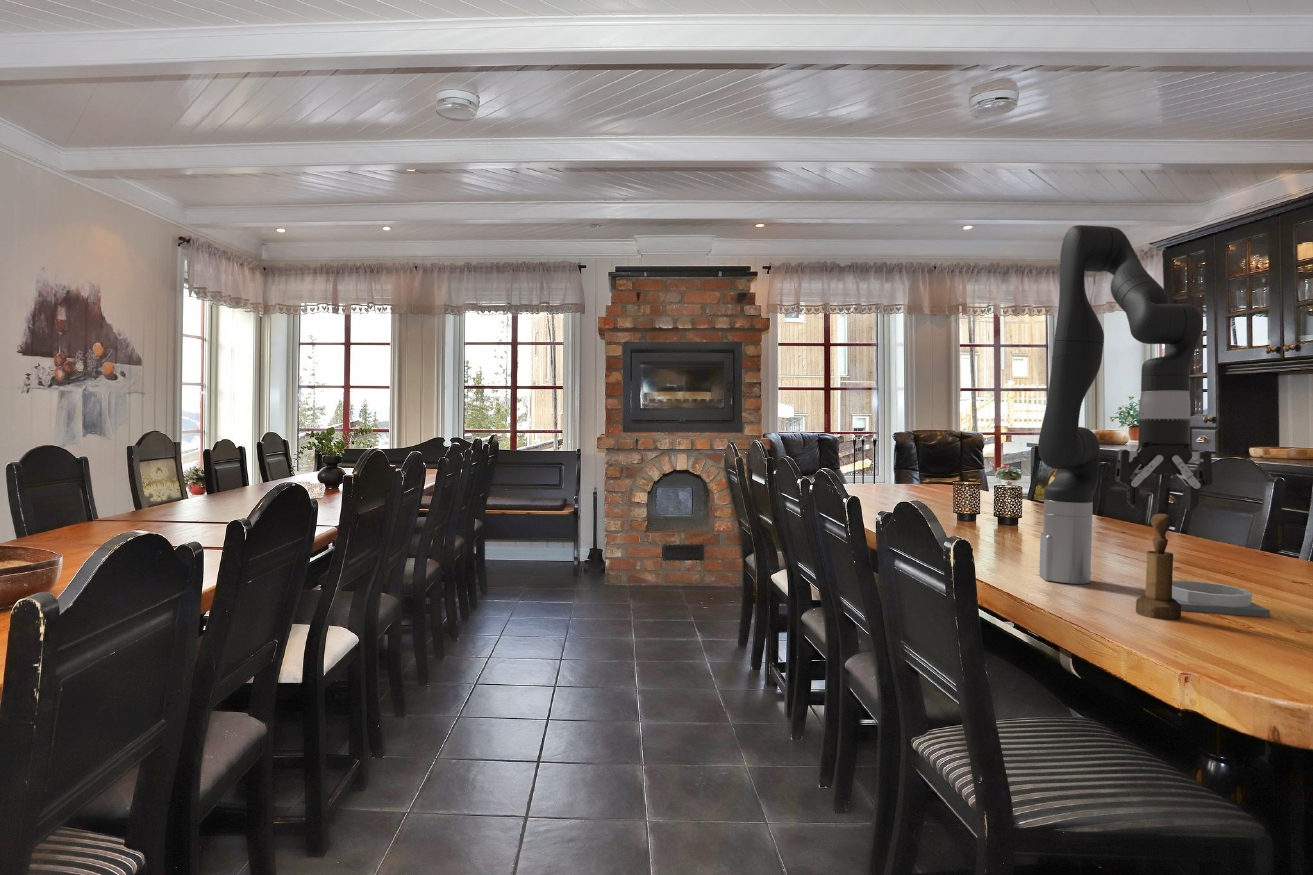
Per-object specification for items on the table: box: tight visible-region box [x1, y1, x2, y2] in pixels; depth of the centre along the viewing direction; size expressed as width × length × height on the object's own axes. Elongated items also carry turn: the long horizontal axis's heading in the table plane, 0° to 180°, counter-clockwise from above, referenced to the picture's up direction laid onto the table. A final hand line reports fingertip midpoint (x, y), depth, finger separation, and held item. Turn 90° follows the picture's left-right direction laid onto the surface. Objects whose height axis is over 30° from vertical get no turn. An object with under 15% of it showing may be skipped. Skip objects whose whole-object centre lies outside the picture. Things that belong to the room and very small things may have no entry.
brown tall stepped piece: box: [1135, 513, 1182, 620], centre depth 132 cm, size 7×6×18 cm
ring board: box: [1172, 579, 1271, 618], centre depth 140 cm, size 14×14×3 cm
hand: (1162, 508), depth 131 cm, fingers open, 8 cm apart
